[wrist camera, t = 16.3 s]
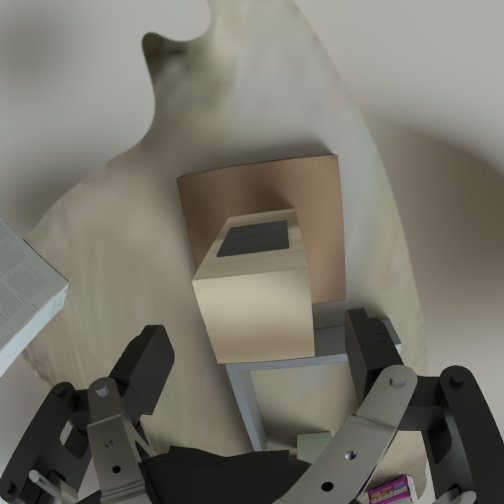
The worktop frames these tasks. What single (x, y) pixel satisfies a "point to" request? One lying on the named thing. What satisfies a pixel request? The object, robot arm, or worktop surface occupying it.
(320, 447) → the sage block
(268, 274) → the birch block
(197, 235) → the walnut board
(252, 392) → the grey bin
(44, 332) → the worktop surface
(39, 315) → the skincare box
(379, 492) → the candy bar box
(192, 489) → the robot arm
